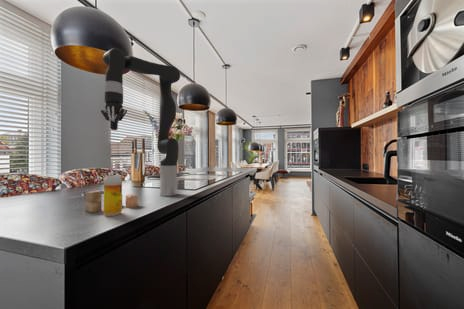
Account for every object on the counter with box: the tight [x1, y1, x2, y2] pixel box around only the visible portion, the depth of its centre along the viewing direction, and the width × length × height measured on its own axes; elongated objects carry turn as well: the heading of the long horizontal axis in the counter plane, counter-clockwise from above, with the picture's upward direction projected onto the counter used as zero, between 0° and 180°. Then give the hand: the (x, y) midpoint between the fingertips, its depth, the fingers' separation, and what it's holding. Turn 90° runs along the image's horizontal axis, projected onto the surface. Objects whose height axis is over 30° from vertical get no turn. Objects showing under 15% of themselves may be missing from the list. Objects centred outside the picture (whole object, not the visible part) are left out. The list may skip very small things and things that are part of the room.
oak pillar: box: [84, 190, 103, 213], centre depth 85 cm, size 4×4×8 cm
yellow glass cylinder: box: [103, 174, 123, 217], centre depth 80 cm, size 6×6×15 cm
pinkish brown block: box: [125, 193, 139, 209], centre depth 93 cm, size 5×5×5 cm
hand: (113, 129), depth 96 cm, fingers closed
